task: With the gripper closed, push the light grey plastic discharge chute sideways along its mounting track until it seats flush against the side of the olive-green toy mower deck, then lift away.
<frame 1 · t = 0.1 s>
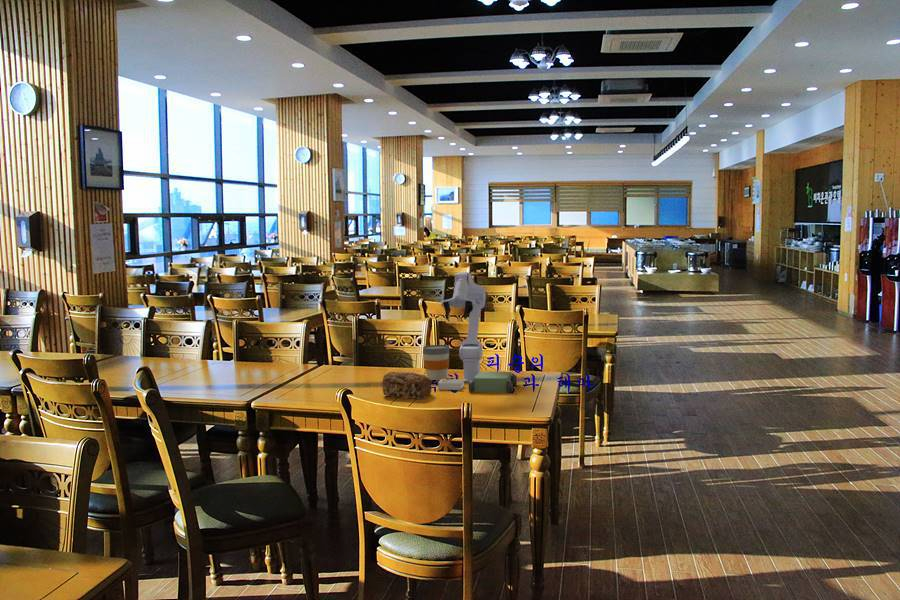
hand: (455, 318, 318), 32 cm above the table, tool tilted 50°, fingers open, 7 cm apart
reusable coffee cup: (437, 379, 355), on the table
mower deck: (493, 388, 328), on the table
bread: (407, 396, 321), on the table
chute: (451, 384, 332), point 2 cm above the table, slide at 6.0 cm
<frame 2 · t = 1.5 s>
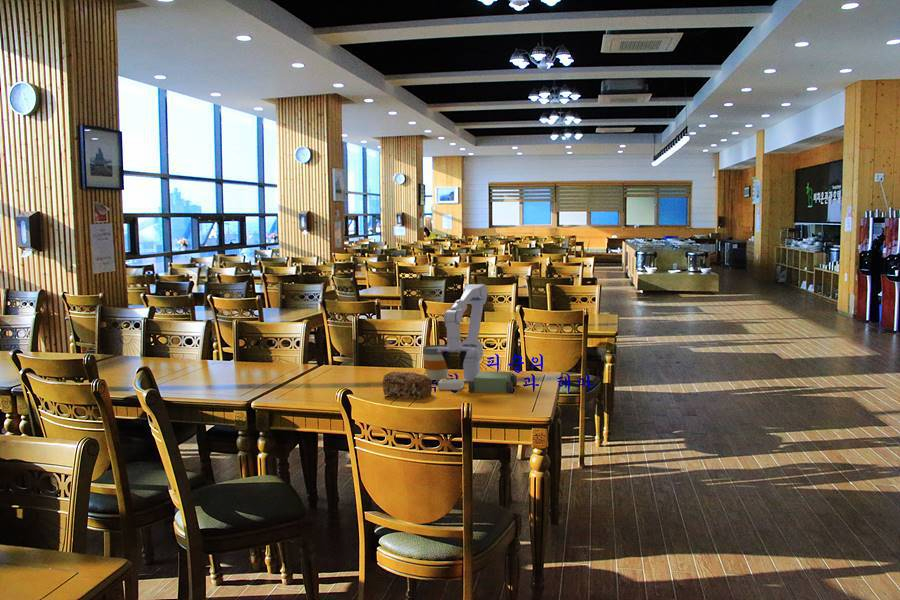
hand: (454, 368, 333), 8 cm above the table, tool pointing down, fingers open, 5 cm apart
nothing on the table moved.
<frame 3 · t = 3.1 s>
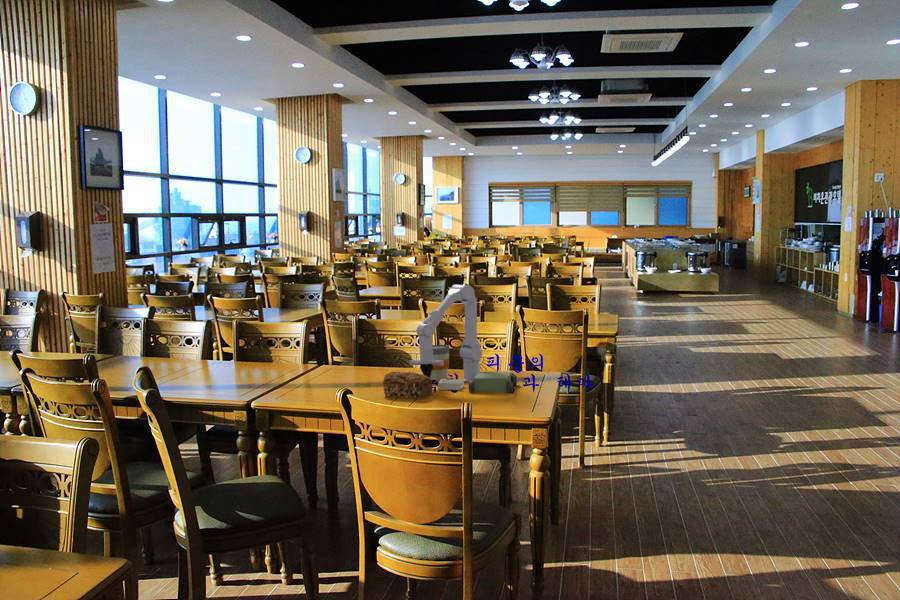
hand: (427, 381, 334), 3 cm above the table, tool pointing down, fingers closed
nothing on the table moved.
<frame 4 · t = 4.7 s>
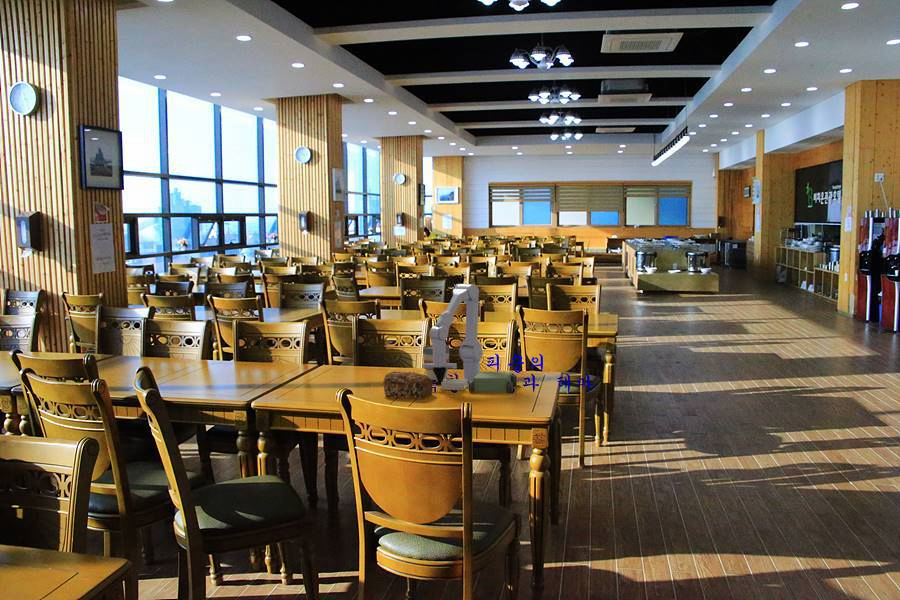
hand: (440, 384, 333), 2 cm above the table, tool pointing down, fingers closed
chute: (454, 384, 332), point 2 cm above the table, slide at 4.5 cm, touching gripper
everything else where it was.
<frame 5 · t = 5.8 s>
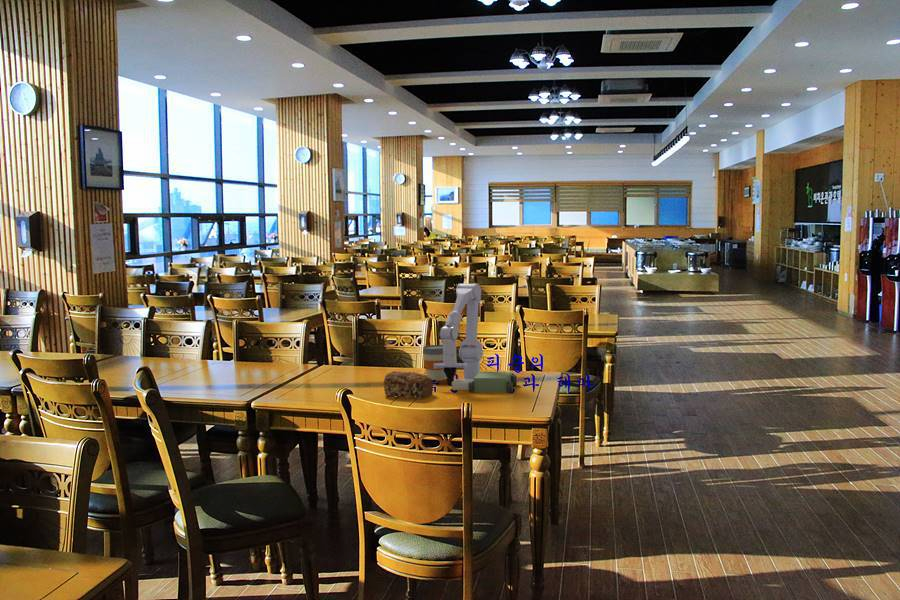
hand: (451, 384, 332), 2 cm above the table, tool pointing down, fingers closed
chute: (464, 384, 331), point 2 cm above the table, slide at 0.0 cm, touching gripper
everything else where it was.
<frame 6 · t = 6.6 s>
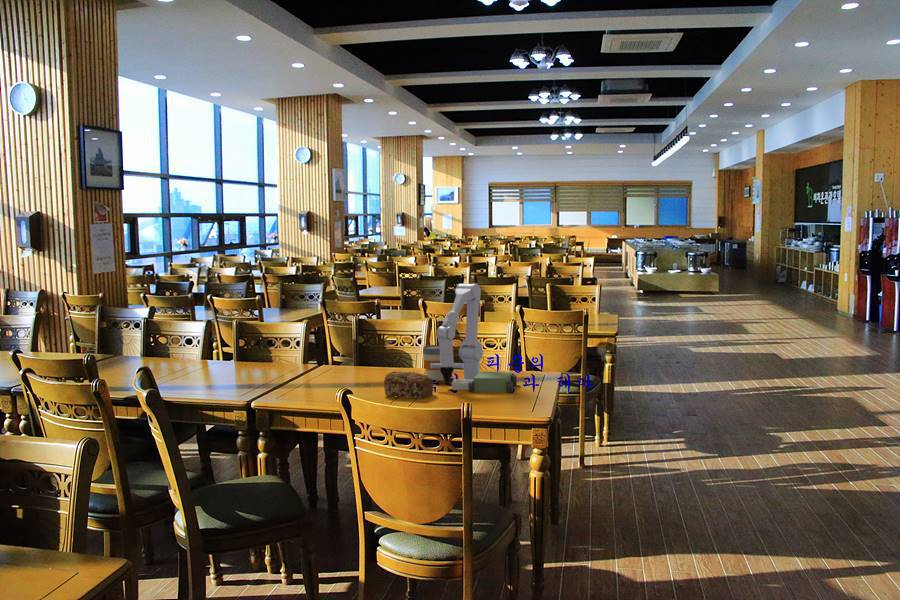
hand: (447, 384, 332), 2 cm above the table, tool pointing down, fingers closed
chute: (464, 384, 331), point 2 cm above the table, slide at 0.0 cm
everything else where it was.
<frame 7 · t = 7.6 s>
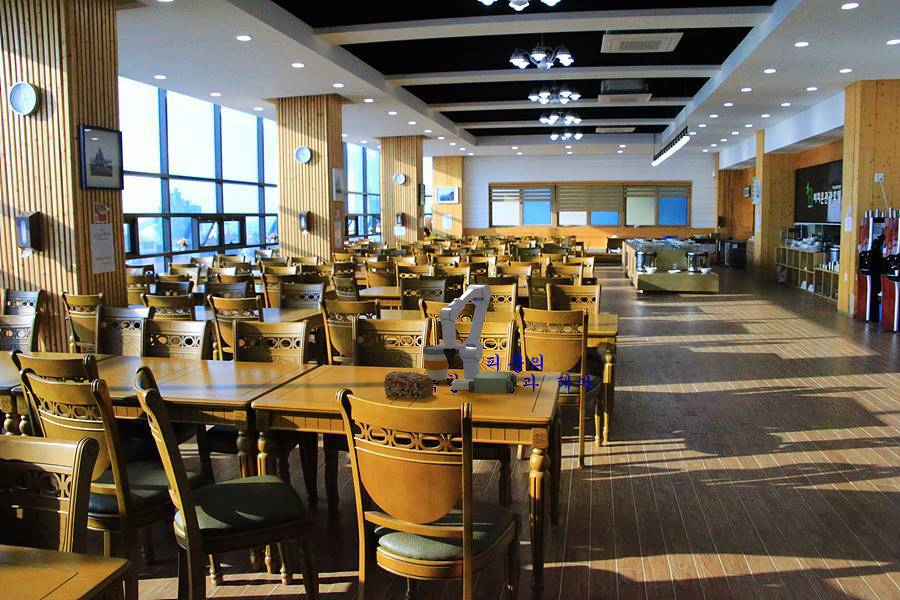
hand: (450, 365, 335), 9 cm above the table, tool pointing down, fingers closed
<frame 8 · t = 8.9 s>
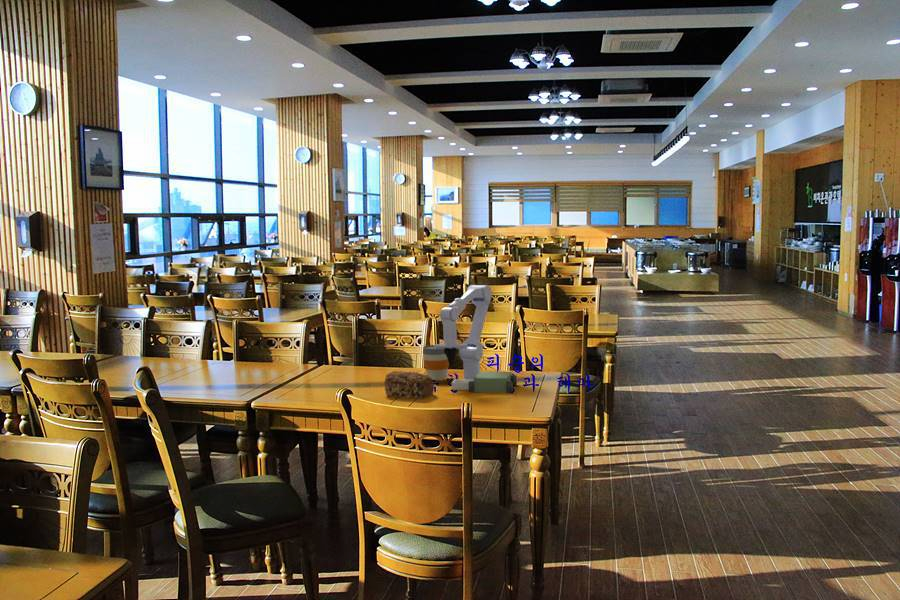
hand: (451, 365, 335), 9 cm above the table, tool pointing down, fingers closed
at the end: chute slide at 0.0 cm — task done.
